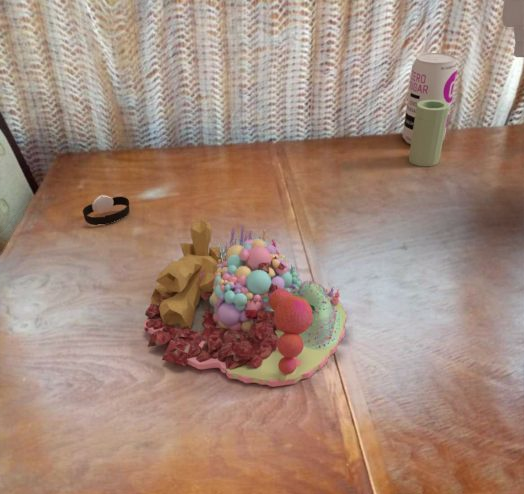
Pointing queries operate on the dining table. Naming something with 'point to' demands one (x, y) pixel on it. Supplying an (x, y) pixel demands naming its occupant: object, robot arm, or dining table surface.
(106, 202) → the watch
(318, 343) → the pastel sphere sculpture
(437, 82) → the supplement can
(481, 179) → the dining table surface
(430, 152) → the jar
